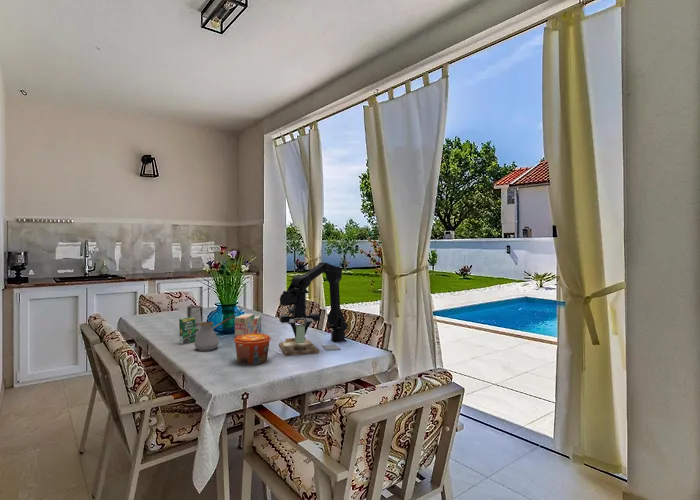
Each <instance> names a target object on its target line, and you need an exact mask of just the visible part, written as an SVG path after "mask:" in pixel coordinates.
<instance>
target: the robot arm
mask: <svg viewBox="0 0 700 500" xmlns="http://www.w3.org/2000/svg"><path fill="white" fill-rule="evenodd" d="M342 270H343V269H342V268H341V267H340V266H336V265H333V264H330V263H328V262H322V261H321V262H319V263H318V264H317V265H314V267H312V268H311V269H310V270H308V271H307V272H305V273H303V274H300V275H297V276H294V277H293V278H292V279H291V282H290V283H289V286H288V288H287V289H286V290H283V291H282V294H281V295H280V298H279V302H280V305H282V306H283V307H288V306H289V307H288V308H287V309H288V311H287V312H288V314H282V315H279V318H278V319H279V322H280V324H288V325H290V326H291V329H292V332H293V335H294V337H295V336H296V325H297V324H296V322H295V321H302V320H303V325H304V326H305V335H306V334H307V331H308V329H309V327H310V325H311V324H313V322H320V321H321V315H320V314H319V313H317V312H314V313H312V312H311V313H309V315H308V314H307V313H306V312H307V311H306V310H307V304H306V303H307V301H306V300H307V299H306V298H307V294H309V293H310V291H309V290H308V289H307V288H308V287H309V286H310V285H311V283H312V281H313V280H315V279H316V278H318V277H319V276H320V275H321V274H325V278H326V281H327V282H328V283H329V301H330V302H329V303H330V311H329V313H327V314H326V317H327V318H326V319H327V320H326V322H327V324H328V326H329V329H331V332H330V339H331V340H332V341H333V342H335V343H337V342H338V341H340V342H347V340H346V330H348V327H349V324H348V323H347V321H346V320H345V316H344V313H343V311H341V298H340V281H341V279H342V277H343V275H342V274H343V271H342ZM290 315H291V316H290Z"/></svg>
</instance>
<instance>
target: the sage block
mask: <svg viewBox="0 0 700 500" xmlns="http://www.w3.org/2000/svg"><path fill="white" fill-rule="evenodd" d="M295 325H296V336H295V335H294V338H295V342H296V344H298V343H305V337H306V334H305V326H304V324H295Z"/></svg>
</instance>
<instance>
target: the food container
mask: <svg viewBox="0 0 700 500" xmlns="http://www.w3.org/2000/svg"><path fill="white" fill-rule="evenodd" d="M271 339H272V337H270V335H269V334H265V333H261V332H260V333H257V334H254V333H251V334H245V335H239V336H237V337H236V338H235V337H234V339H233V342H234V343H235V350H236V351H235V352H236V360H237V363H239V364H241V365H244V366H245V365H249V366H250V365H251V366H253V365H259V364H263V363H264V364H265V362H267V361H268V355H269V349H270V347H269V346H270V341H271Z"/></svg>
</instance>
